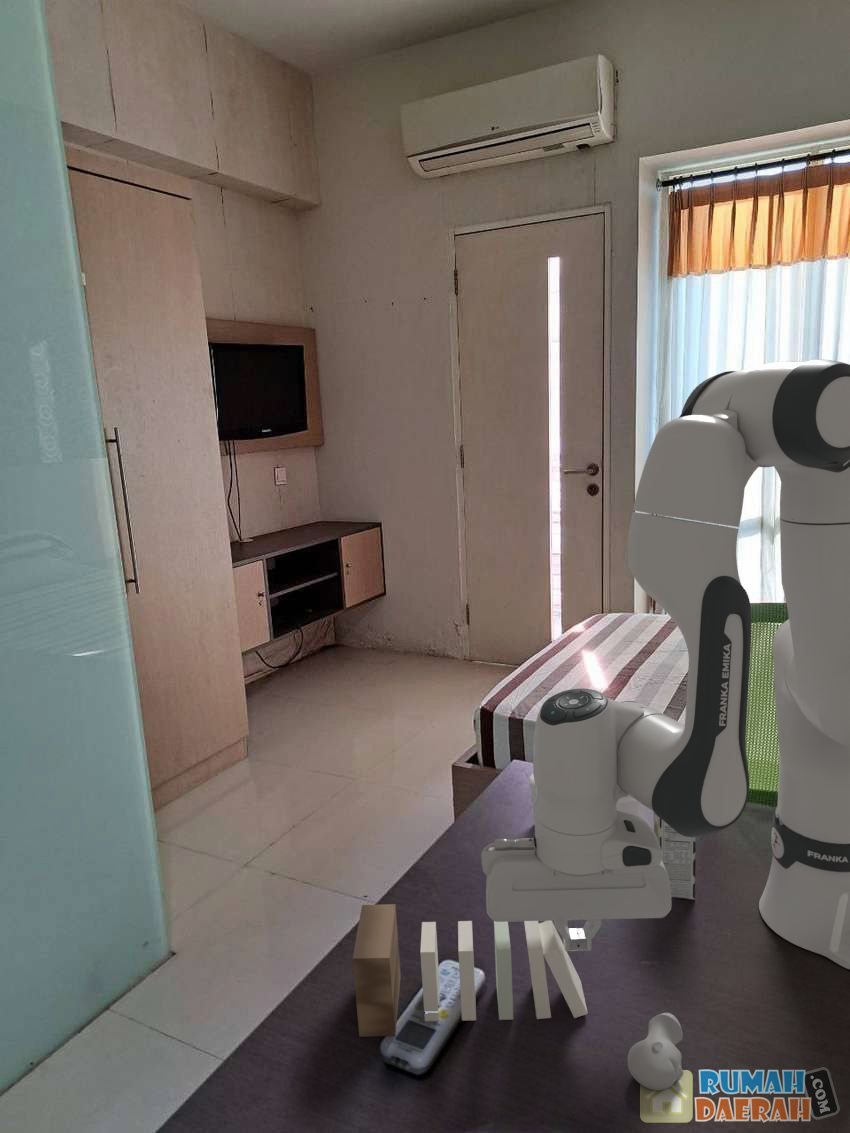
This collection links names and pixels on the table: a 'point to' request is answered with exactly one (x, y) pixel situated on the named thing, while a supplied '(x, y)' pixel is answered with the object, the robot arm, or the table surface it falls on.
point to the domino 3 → (503, 970)
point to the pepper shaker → (629, 806)
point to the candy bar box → (677, 859)
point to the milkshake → (533, 792)
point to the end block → (377, 970)
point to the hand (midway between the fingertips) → (577, 947)
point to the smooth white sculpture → (658, 1054)
